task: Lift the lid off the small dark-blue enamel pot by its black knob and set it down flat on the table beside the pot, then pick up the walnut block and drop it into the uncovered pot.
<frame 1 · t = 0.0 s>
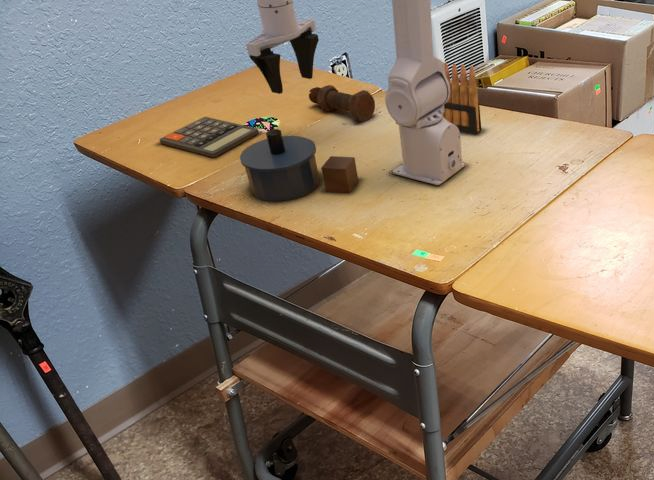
hand: (292, 84, 126), 10 cm above the table, tool pointing down, fingers open, 7 cm apart
block: (342, 186, 116), on the table
pot: (285, 184, 118), on the table
ammunition clip: (453, 129, 131), on the table
calculator: (210, 138, 135), on the table
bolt: (341, 112, 141), on the table
lid: (278, 154, 115), point 5 cm above the table, touching pot
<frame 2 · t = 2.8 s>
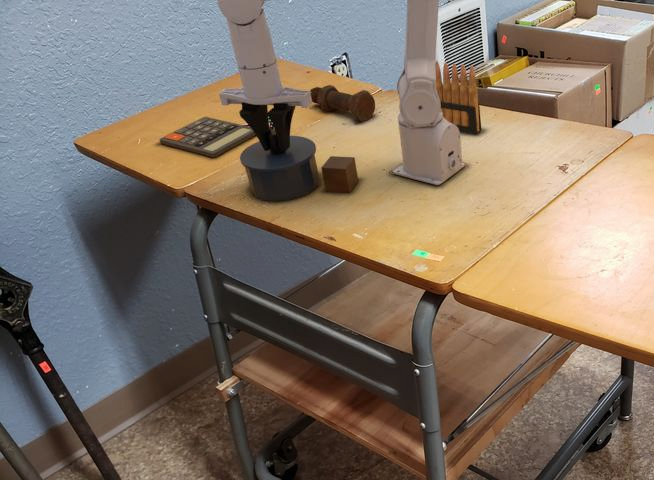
hand: (277, 148, 114), 6 cm above the table, tool pointing down, fingers closed on lid, 2 cm apart
lid: (278, 154, 115), point 5 cm above the table, touching gripper, pot
everything else where it was.
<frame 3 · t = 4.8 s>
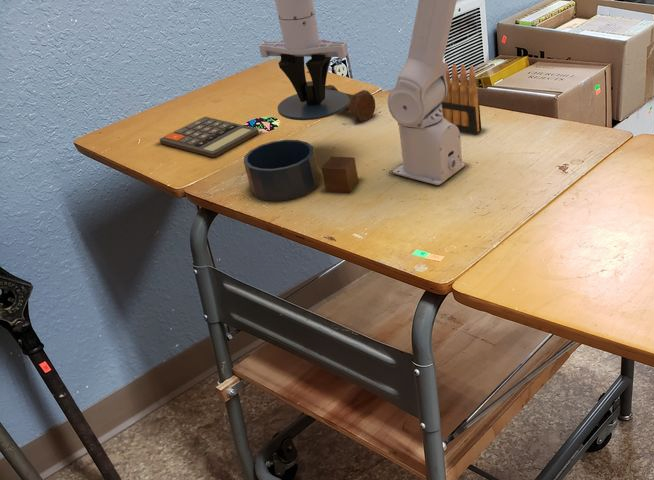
hand: (313, 100, 120), 10 cm above the table, tool pointing down, fingers closed on lid, 2 cm apart
lid: (314, 105, 120), point 9 cm above the table, touching gripper
everything else where it was.
when the fingers open (2 cm above the table, at t = 7.1 s): lid stays where it is, point 1 cm above the table.
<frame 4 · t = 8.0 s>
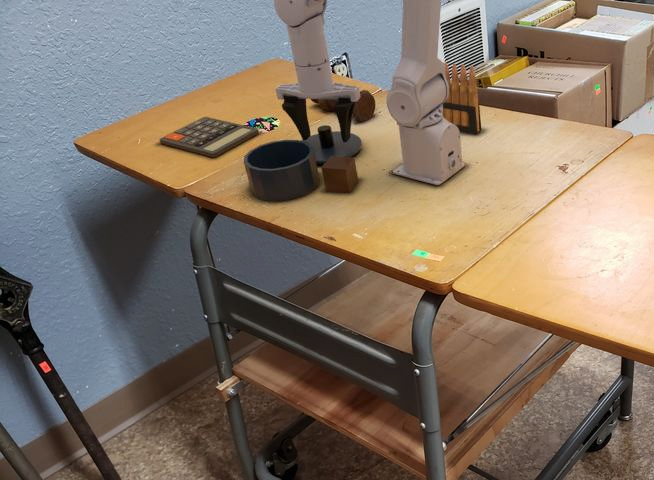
hand: (326, 138, 126), 2 cm above the table, tool pointing down, fingers open, 7 cm apart
lid: (328, 148, 127), point 1 cm above the table
everything else where it was.
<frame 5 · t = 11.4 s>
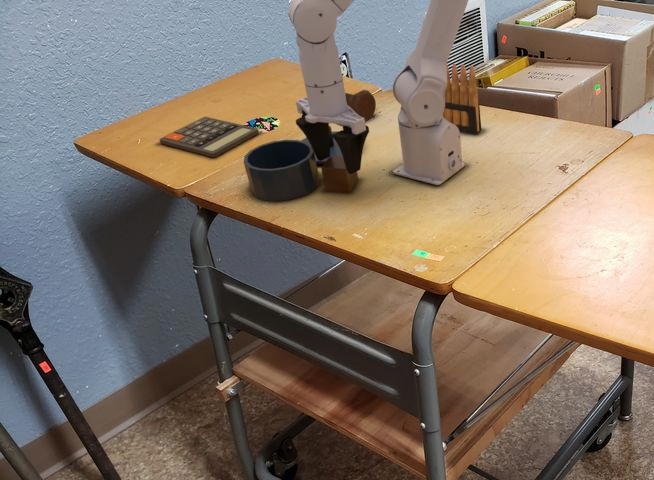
hand: (338, 164, 114), 4 cm above the table, tool pointing down, fingers open, 7 cm apart
nothing on the table moved.
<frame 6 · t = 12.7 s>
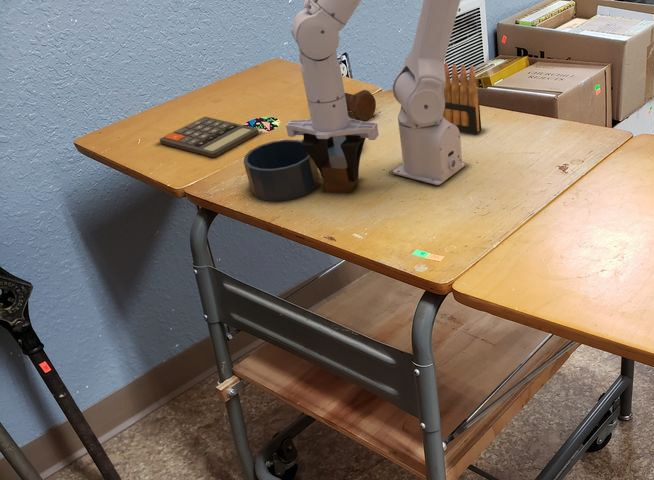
hand: (340, 178, 116), 1 cm above the table, tool pointing down, fingers closed on block, 4 cm apart
block: (342, 186, 116), on the table, touching gripper
everything else where it was.
when the fingers open (2 cm above the table, at t = 17.4 s): block stays where it is, resting on pot.
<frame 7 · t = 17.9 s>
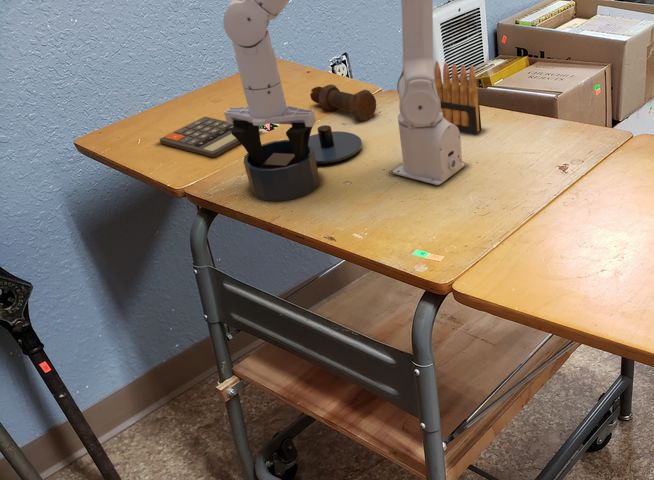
hand: (281, 165, 116), 3 cm above the table, tool pointing down, fingers open, 7 cm apart
block: (285, 182, 118), resting on pot
everything else where it was.
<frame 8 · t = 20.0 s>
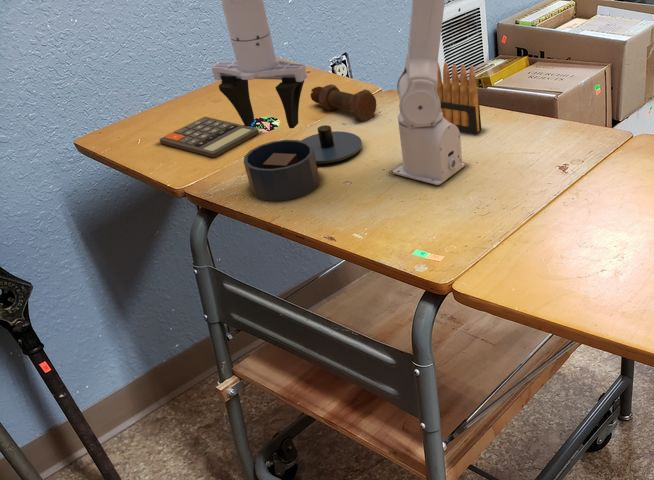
hand: (271, 124, 112), 10 cm above the table, tool pointing down, fingers open, 7 cm apart
nothing on the table moved.
at the end: lid inside the target area (0.0 cm from its centre), point 0.6 cm above the table; lid tilted 0°; block inside the target area in the pot (0.0 cm from its centre), point 0.4 cm above the pot's base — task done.
